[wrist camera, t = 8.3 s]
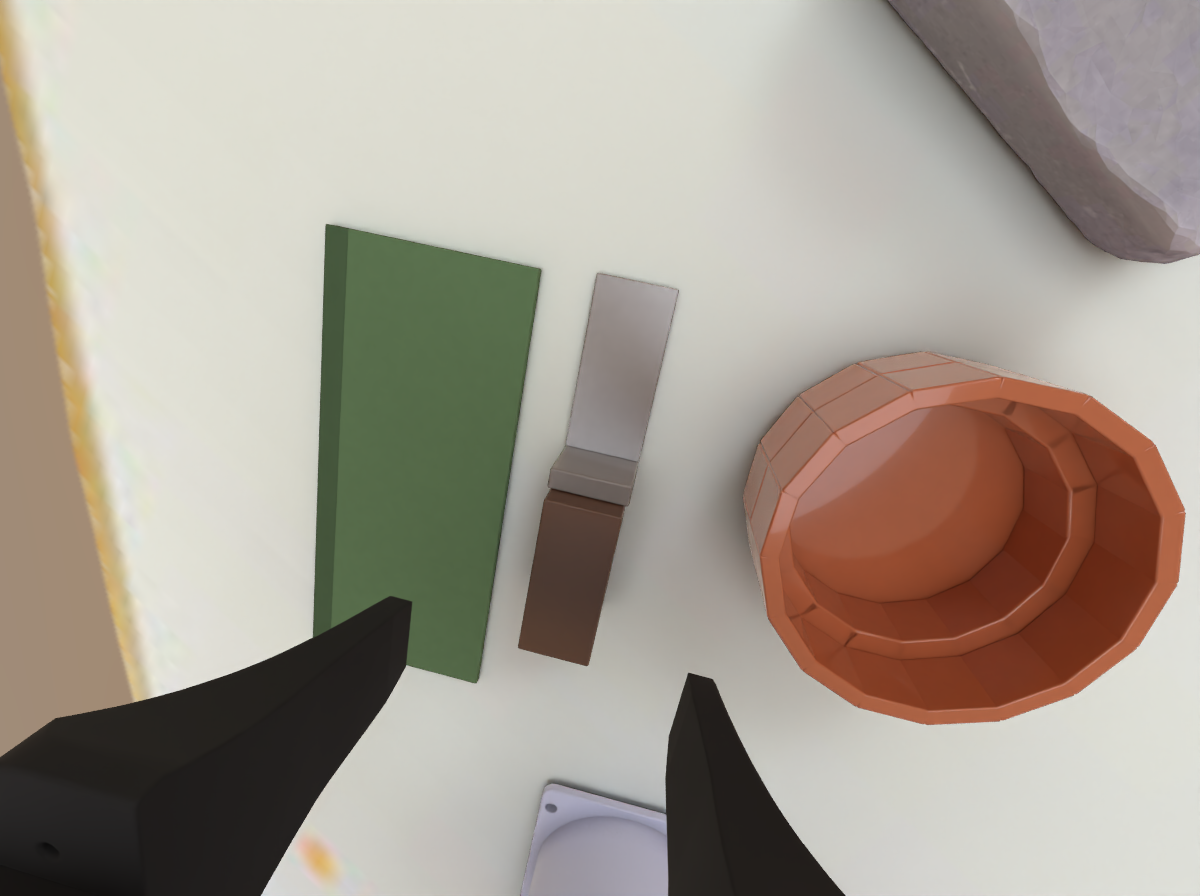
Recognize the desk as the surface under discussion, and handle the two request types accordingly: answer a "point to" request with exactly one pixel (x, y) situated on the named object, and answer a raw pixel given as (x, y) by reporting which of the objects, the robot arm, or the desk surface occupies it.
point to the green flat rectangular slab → (417, 435)
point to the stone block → (1088, 106)
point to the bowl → (958, 537)
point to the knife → (596, 466)
